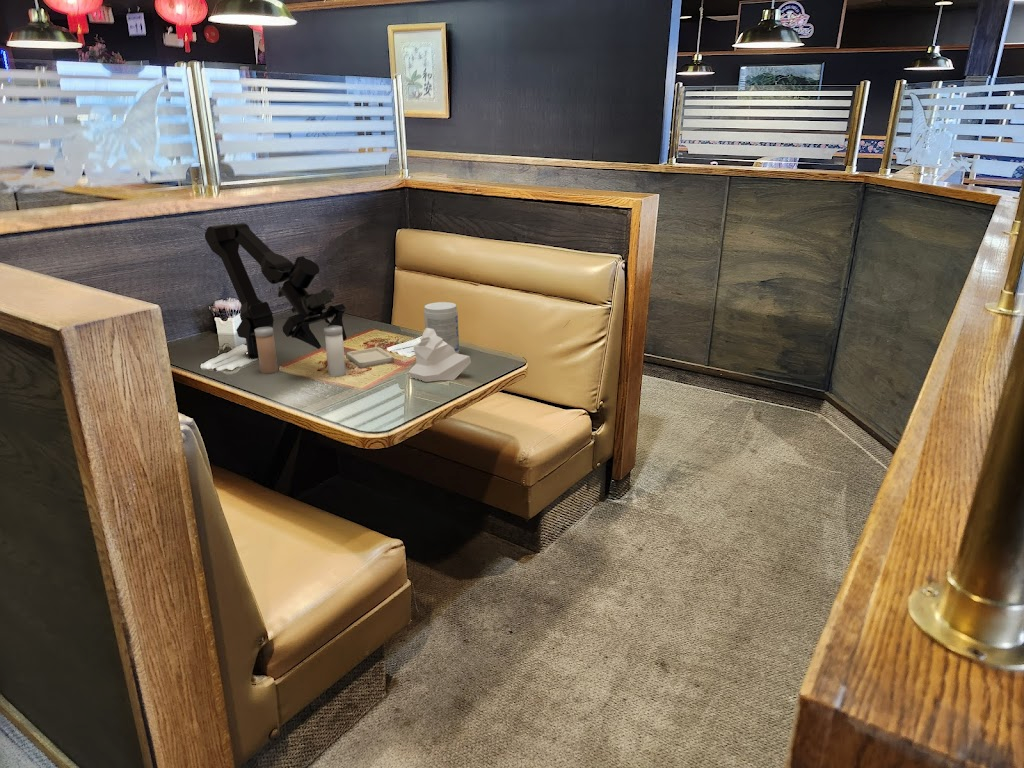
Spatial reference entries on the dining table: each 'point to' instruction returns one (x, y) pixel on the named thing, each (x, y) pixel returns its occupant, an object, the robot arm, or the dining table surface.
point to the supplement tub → (443, 322)
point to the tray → (369, 357)
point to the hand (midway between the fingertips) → (333, 343)
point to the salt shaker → (335, 350)
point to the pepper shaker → (266, 349)
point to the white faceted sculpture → (436, 359)
